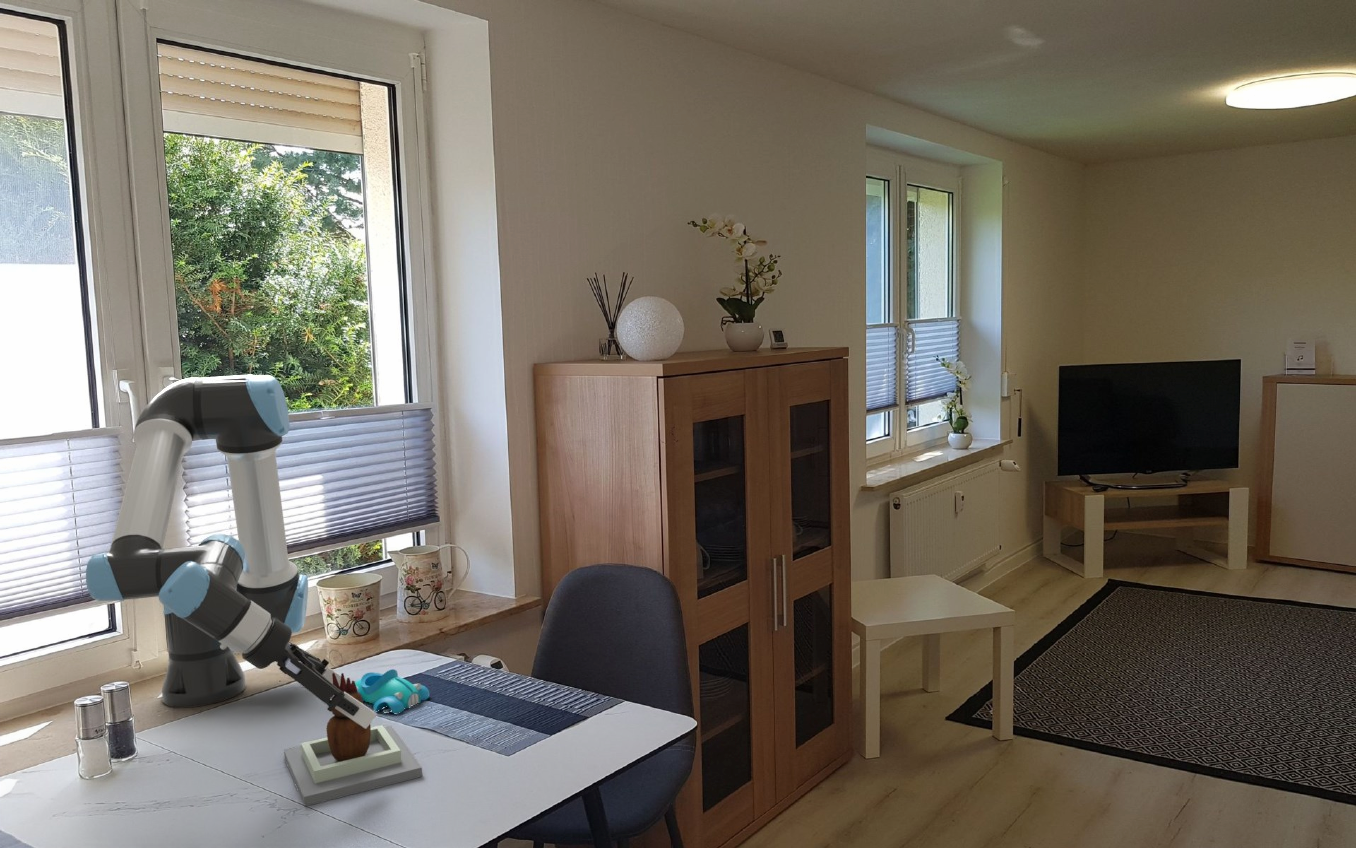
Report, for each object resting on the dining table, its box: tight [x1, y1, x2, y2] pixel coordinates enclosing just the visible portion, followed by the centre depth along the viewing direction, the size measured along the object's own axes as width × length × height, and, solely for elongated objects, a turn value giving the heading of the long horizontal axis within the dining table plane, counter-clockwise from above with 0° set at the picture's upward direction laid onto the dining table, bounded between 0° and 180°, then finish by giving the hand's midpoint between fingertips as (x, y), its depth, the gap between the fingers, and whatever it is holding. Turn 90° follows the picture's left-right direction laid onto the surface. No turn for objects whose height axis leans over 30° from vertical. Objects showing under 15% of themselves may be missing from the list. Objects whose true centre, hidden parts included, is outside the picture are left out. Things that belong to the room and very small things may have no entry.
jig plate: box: [283, 724, 423, 807], centre depth 166 cm, size 20×18×4 cm
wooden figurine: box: [326, 672, 371, 762], centre depth 165 cm, size 7×6×15 cm
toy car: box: [355, 668, 430, 713], centre depth 196 cm, size 11×18×7 cm, turn 61°
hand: (361, 707), depth 166 cm, fingers open, 13 cm apart
